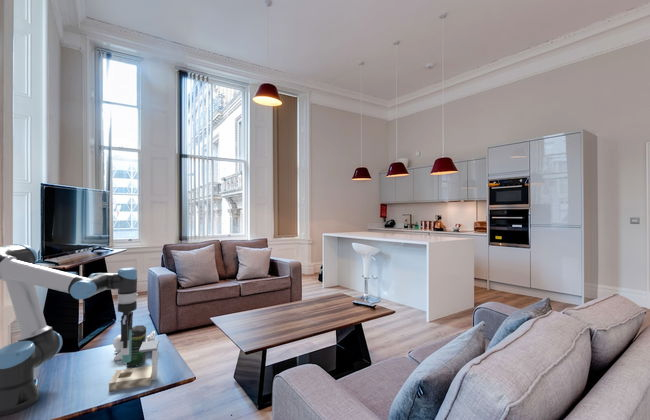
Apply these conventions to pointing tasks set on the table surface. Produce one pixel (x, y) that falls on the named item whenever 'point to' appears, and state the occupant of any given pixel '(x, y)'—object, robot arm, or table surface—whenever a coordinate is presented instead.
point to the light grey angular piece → (154, 348)
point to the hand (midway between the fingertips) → (126, 352)
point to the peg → (128, 357)
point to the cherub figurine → (118, 344)
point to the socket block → (131, 378)
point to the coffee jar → (137, 346)
